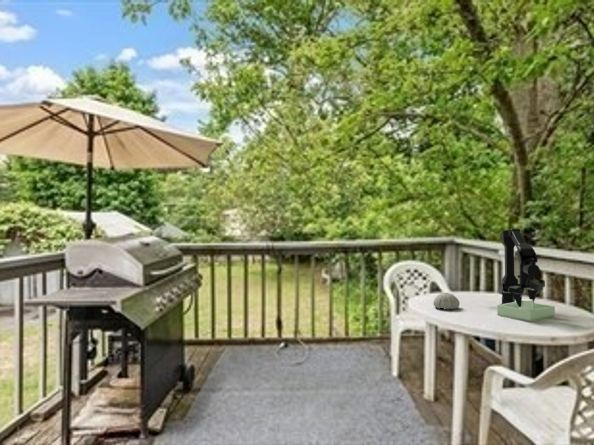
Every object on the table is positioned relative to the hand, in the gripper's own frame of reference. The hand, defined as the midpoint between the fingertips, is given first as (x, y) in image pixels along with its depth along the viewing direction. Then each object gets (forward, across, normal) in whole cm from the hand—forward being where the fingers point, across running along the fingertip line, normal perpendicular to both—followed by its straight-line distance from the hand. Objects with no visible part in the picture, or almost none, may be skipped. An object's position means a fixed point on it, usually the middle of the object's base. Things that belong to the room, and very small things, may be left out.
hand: (525, 305), depth 278 cm
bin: (+5, 0, 0) cm, 5 cm away
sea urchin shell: (+5, -16, +36) cm, 40 cm away
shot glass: (+4, 0, 0) cm, 4 cm away
